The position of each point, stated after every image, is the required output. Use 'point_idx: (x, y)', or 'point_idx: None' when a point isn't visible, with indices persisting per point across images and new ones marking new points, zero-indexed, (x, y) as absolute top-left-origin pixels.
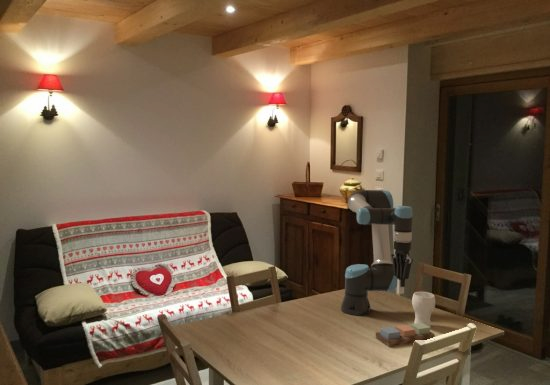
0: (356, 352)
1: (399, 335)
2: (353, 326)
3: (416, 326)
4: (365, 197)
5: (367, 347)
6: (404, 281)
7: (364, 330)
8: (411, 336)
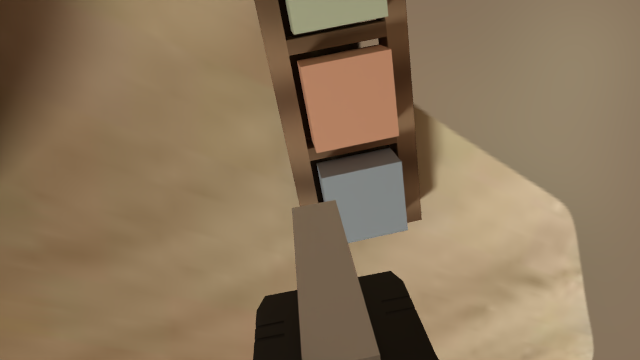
0: None
1: (394, 156)
2: (150, 285)
3: (341, 11)
4: None
5: None
6: (431, 348)
7: (206, 250)
8: (395, 78)
